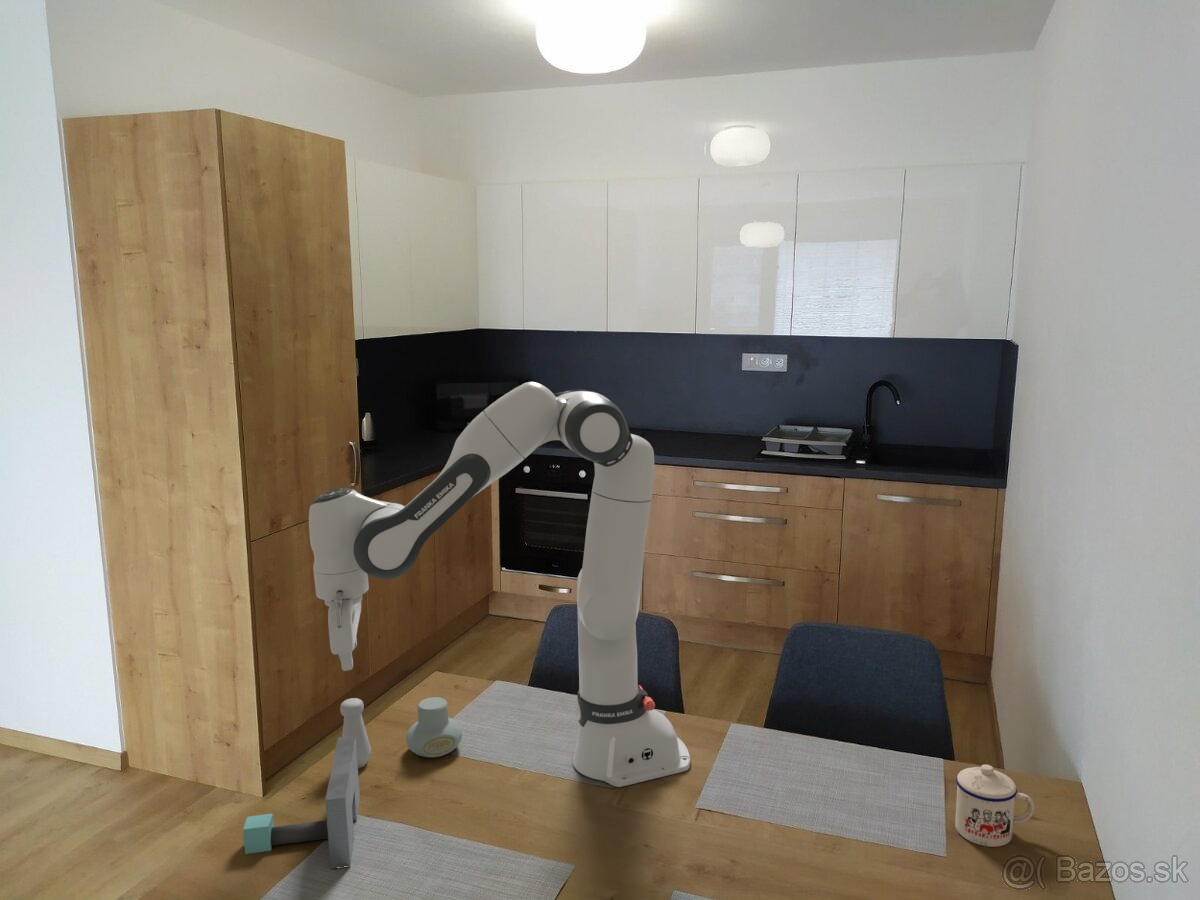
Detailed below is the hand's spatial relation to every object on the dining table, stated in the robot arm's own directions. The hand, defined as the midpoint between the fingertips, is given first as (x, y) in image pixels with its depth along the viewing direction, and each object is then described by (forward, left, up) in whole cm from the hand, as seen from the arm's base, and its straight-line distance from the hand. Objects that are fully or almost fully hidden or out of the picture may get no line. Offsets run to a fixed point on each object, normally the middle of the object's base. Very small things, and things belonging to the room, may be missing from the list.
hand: (349, 657), depth 154 cm
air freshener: (-13, -14, -27) cm, 33 cm away
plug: (+11, +11, -27) cm, 31 cm away
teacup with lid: (-103, +34, -27) cm, 112 cm away
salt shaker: (+2, -12, -27) cm, 29 cm away
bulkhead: (+2, +10, -27) cm, 29 cm away
